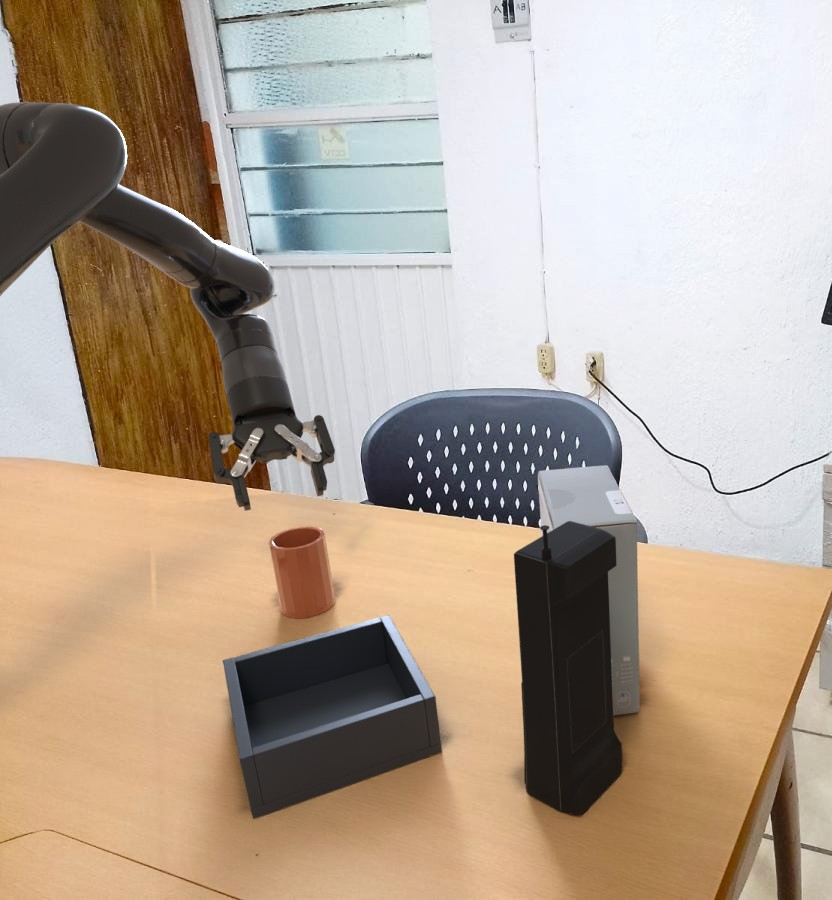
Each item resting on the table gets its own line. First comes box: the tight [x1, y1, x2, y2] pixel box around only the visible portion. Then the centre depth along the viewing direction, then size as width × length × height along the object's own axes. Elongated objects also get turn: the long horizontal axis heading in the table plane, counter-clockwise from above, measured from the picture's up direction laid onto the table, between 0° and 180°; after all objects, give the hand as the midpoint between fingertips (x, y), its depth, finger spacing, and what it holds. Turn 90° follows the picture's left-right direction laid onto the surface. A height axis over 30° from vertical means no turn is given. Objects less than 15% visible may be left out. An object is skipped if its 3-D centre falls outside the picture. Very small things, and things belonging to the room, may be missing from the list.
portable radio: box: [513, 521, 623, 816], centre depth 66 cm, size 8×6×25 cm
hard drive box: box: [537, 465, 641, 717], centre depth 82 cm, size 16×8×20 cm, turn 9°
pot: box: [268, 526, 336, 619], centre depth 99 cm, size 6×6×9 cm
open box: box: [222, 614, 443, 820], centre depth 77 cm, size 16×16×6 cm
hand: (284, 500), depth 101 cm, fingers open, 8 cm apart
